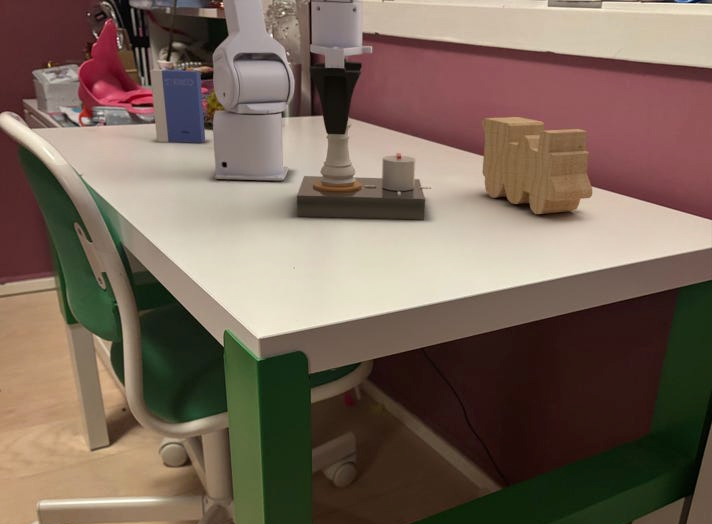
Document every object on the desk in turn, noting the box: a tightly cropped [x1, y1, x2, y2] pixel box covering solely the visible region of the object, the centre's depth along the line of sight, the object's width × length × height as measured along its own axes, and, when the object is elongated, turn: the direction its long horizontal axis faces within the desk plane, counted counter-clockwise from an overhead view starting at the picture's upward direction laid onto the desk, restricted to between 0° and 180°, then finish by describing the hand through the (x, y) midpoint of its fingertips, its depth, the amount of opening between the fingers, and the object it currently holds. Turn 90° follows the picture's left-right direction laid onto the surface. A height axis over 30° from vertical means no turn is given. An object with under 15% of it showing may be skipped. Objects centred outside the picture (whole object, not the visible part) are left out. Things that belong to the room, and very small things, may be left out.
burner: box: [313, 180, 362, 192], centre depth 91 cm, size 6×6×1 cm
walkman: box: [149, 67, 206, 144], centre depth 128 cm, size 8×3×12 cm, turn 91°
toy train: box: [481, 116, 593, 215], centre depth 95 cm, size 6×17×10 cm, turn 27°
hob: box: [296, 175, 432, 221], centre depth 92 cm, size 16×11×3 cm
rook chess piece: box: [320, 115, 357, 187], centre depth 89 cm, size 4×4×8 cm
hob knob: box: [381, 152, 416, 191], centre depth 91 cm, size 4×4×4 cm
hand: (337, 128), depth 88 cm, fingers open, 7 cm apart
